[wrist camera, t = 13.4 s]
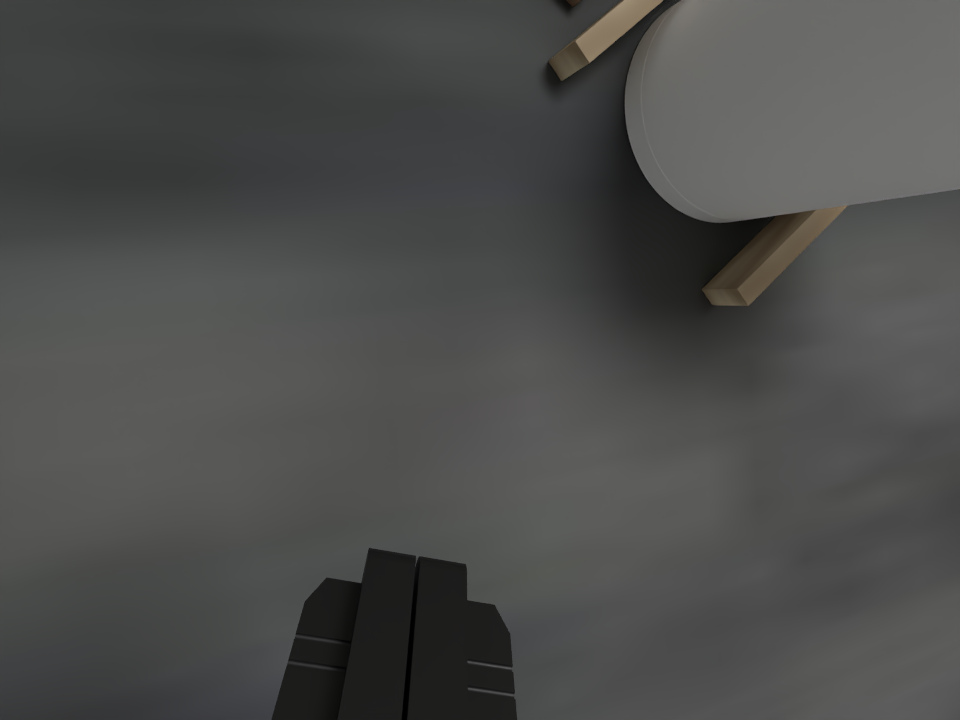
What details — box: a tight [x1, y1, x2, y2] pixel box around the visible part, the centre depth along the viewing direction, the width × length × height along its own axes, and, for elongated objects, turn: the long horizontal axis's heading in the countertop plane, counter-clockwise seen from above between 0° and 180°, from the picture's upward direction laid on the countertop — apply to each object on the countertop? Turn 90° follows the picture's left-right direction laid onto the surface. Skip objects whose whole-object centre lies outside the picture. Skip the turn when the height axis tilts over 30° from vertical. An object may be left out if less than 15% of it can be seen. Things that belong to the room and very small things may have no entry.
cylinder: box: [625, 0, 960, 223], centre depth 27 cm, size 12×12×25 cm
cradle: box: [548, 0, 848, 306], centre depth 37 cm, size 16×18×5 cm
